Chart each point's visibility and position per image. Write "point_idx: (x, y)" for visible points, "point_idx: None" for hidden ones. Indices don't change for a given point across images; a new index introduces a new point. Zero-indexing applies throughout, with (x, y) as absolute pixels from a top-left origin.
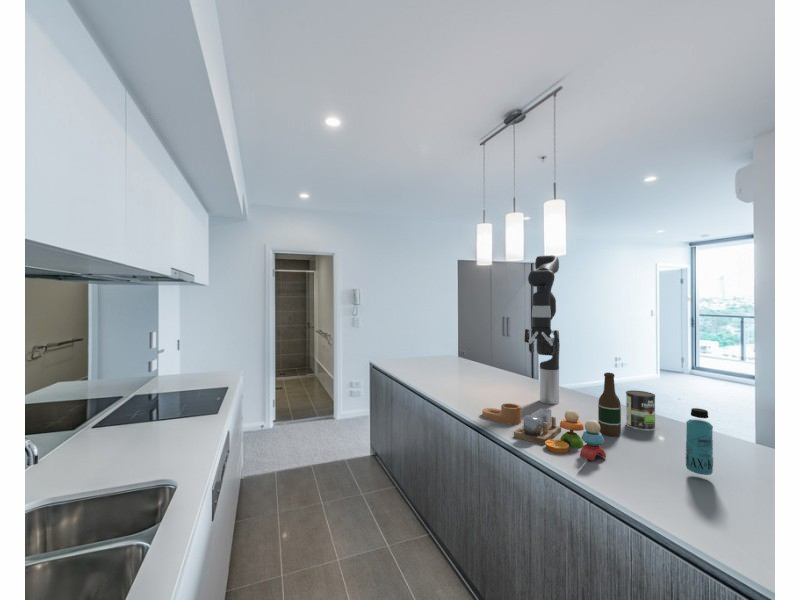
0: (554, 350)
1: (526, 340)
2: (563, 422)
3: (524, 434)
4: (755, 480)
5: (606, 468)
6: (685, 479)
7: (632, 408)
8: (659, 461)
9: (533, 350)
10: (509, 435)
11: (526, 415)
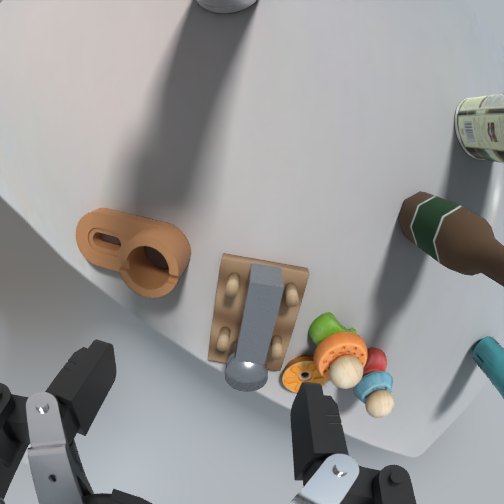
0: (337, 419)
1: (22, 441)
2: (323, 376)
3: None
4: None
5: None
6: (459, 365)
7: (497, 153)
8: (457, 327)
9: (104, 355)
10: (198, 347)
11: (227, 368)
